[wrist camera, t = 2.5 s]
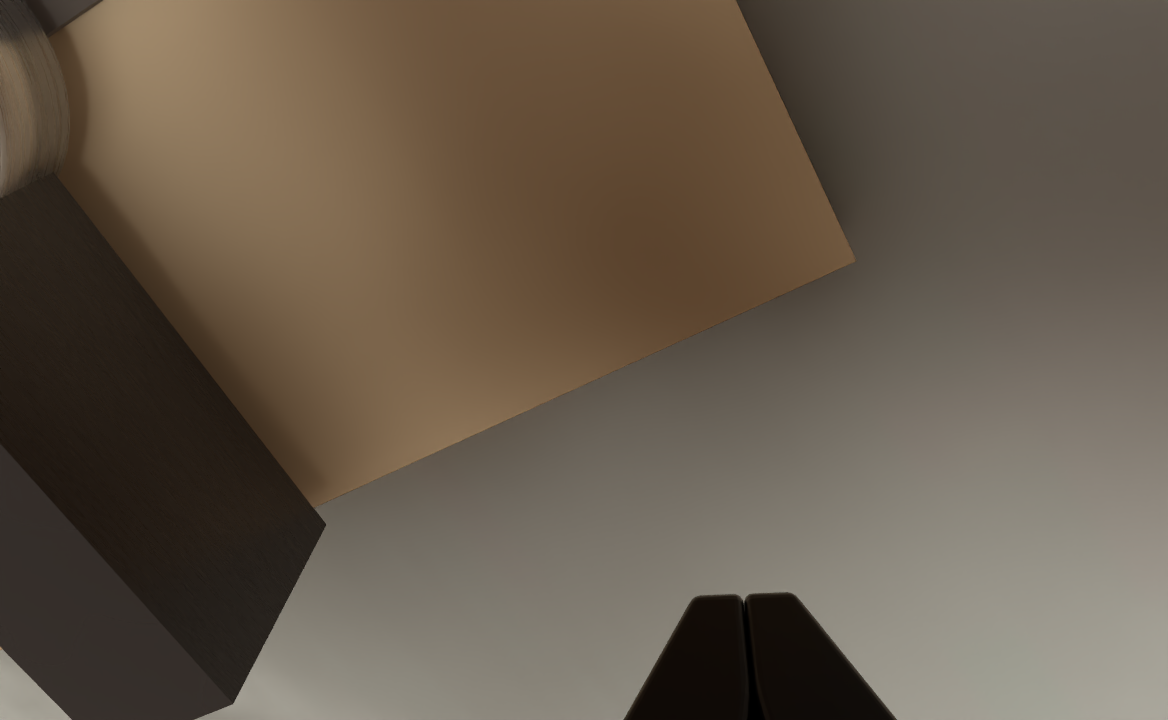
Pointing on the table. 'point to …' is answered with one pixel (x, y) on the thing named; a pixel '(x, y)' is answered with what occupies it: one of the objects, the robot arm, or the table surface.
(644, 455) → the table surface
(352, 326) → the tuner board
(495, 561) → the table surface
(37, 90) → the peg knob
